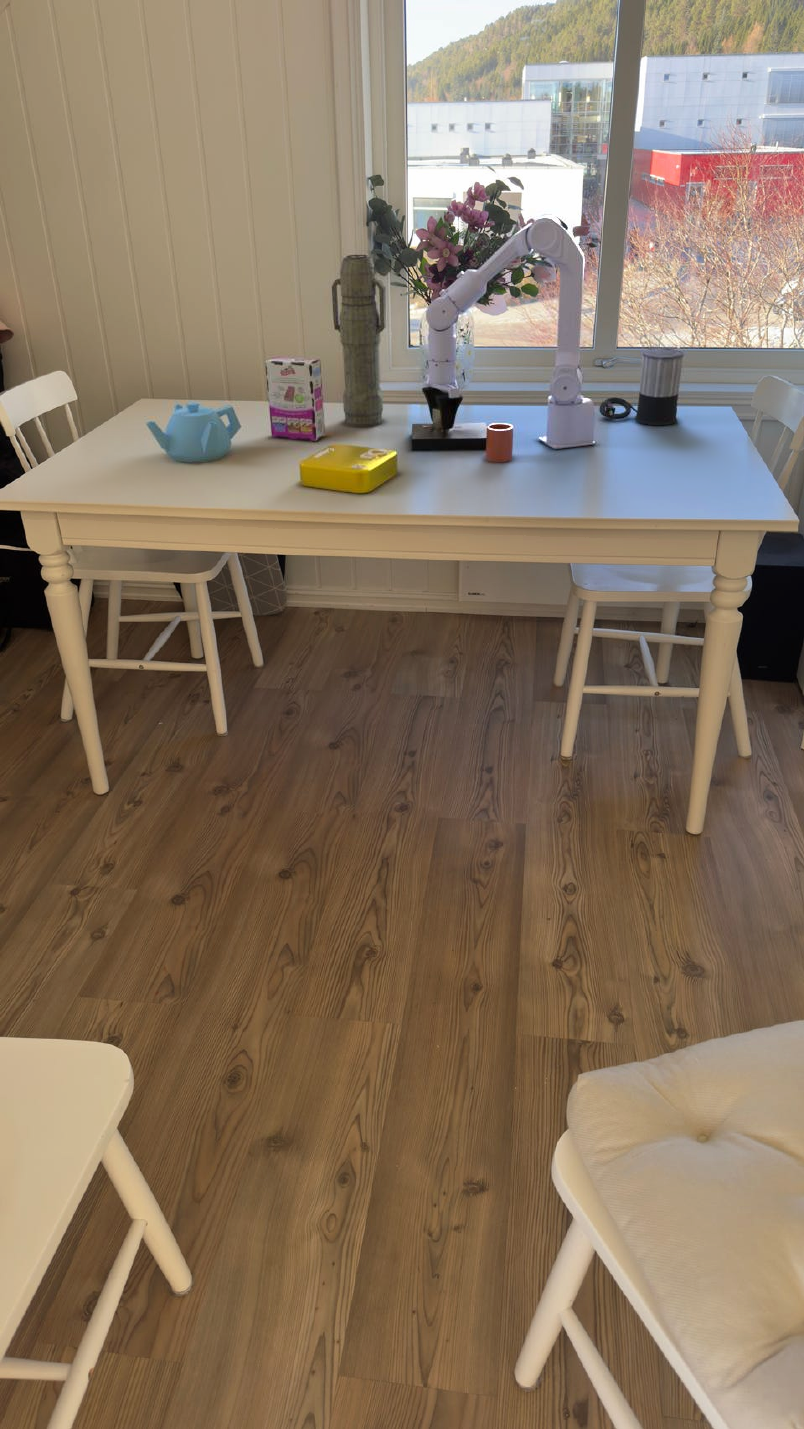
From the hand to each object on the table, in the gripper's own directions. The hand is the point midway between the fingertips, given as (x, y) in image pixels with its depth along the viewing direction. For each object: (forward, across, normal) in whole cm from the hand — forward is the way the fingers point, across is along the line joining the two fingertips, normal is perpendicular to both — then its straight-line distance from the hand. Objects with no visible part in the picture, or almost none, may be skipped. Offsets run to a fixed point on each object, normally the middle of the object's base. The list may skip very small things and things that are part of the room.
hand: (442, 424), depth 220 cm
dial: (0, 0, 0) cm, 0 cm away
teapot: (+3, -9, -52) cm, 52 cm away
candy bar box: (+3, -14, -29) cm, 32 cm away
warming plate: (+3, +3, 0) cm, 4 cm away
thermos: (+3, -20, -12) cm, 23 cm away
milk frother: (+3, +3, +46) cm, 47 cm away
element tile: (+3, +19, -27) cm, 33 cm away
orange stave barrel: (+3, +18, +5) cm, 19 cm away
